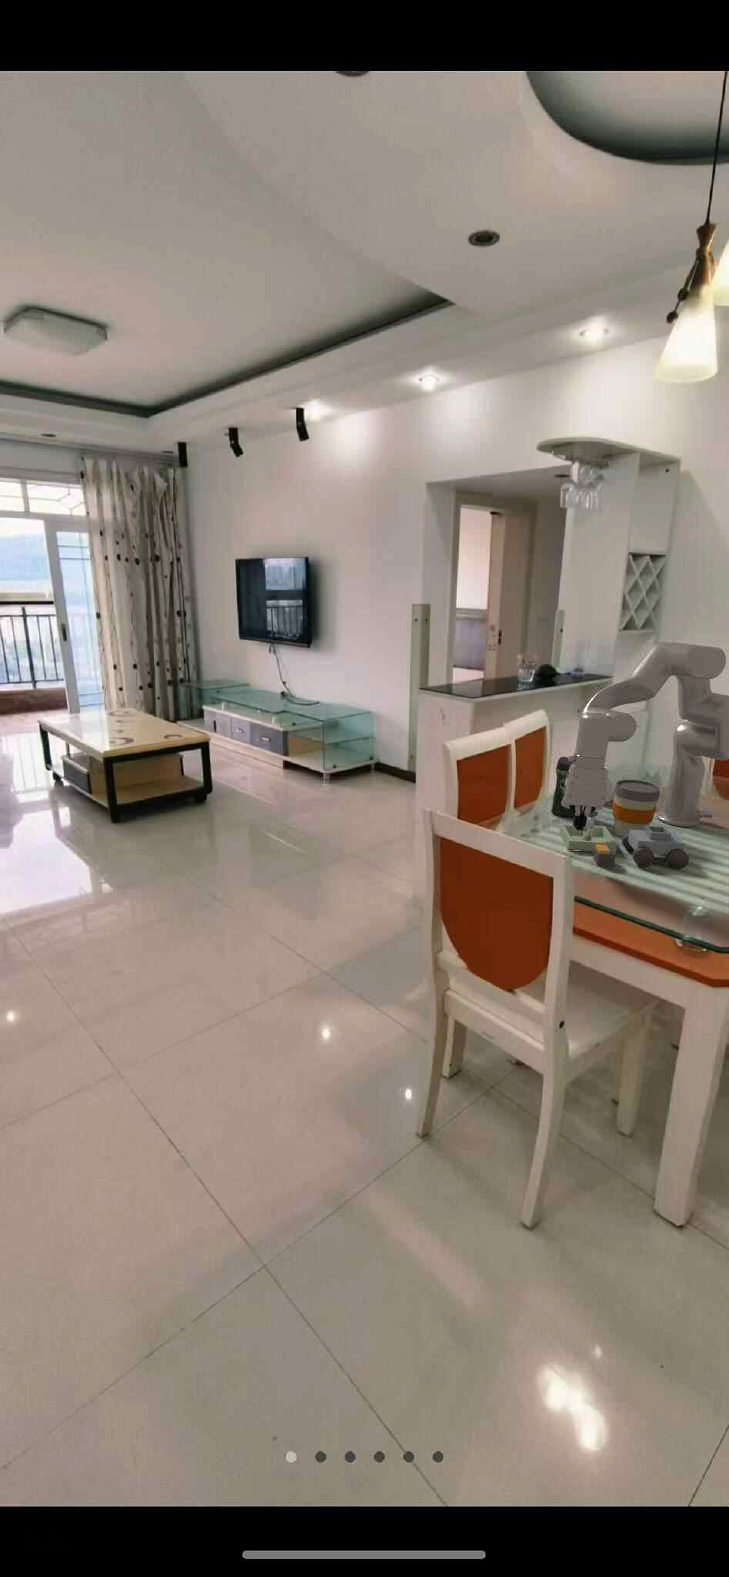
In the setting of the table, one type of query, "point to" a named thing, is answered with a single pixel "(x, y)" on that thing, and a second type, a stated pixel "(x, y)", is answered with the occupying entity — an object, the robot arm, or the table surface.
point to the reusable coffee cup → (634, 805)
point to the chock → (604, 855)
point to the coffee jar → (561, 789)
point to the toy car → (655, 846)
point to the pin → (589, 826)
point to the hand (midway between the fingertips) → (578, 828)
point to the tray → (575, 842)
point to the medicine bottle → (608, 787)
